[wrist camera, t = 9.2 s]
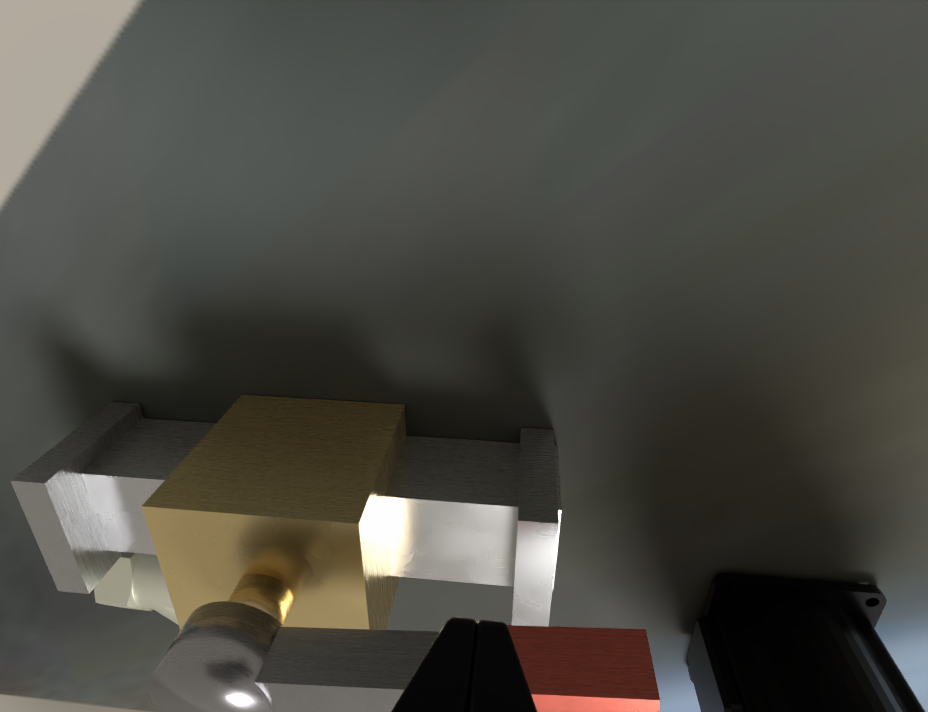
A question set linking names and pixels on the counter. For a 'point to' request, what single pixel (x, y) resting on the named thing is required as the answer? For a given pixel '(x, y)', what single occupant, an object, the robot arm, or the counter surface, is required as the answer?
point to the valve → (297, 509)
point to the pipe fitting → (136, 585)
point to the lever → (380, 666)
